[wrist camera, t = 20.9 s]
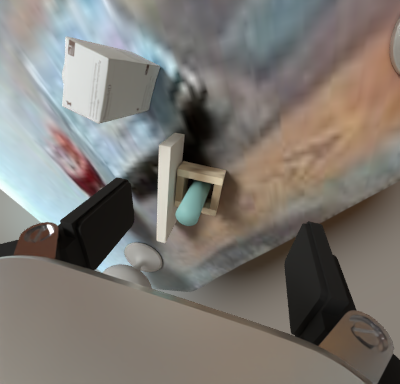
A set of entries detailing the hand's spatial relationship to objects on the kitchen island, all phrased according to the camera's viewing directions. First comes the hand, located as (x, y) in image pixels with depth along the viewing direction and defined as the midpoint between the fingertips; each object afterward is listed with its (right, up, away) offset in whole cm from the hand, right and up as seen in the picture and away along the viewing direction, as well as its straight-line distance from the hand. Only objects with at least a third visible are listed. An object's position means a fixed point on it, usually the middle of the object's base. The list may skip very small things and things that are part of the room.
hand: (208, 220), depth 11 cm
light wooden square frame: (0, +3, +34) cm, 34 cm away
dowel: (0, +3, +34) cm, 34 cm away
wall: (-6, +4, +35) cm, 36 cm away
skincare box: (-11, +22, +26) cm, 36 cm away
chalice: (-17, -18, +51) cm, 57 cm away
